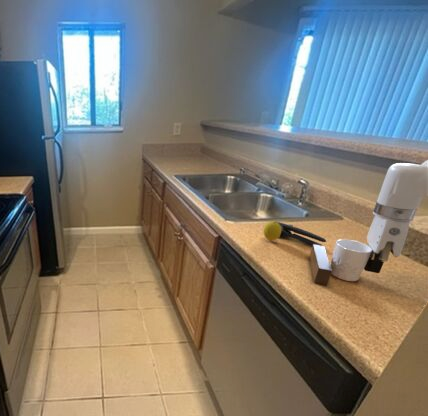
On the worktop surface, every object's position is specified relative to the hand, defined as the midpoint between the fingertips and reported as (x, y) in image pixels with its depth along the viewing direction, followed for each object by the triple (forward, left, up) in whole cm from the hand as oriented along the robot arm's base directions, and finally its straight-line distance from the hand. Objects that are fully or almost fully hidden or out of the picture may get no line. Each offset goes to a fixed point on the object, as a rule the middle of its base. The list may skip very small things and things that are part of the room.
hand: (370, 270), depth 78 cm
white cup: (+5, 0, -4) cm, 6 cm away
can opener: (+17, -19, -4) cm, 26 cm away
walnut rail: (+12, +1, -3) cm, 12 cm away
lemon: (+25, -14, -4) cm, 29 cm away
